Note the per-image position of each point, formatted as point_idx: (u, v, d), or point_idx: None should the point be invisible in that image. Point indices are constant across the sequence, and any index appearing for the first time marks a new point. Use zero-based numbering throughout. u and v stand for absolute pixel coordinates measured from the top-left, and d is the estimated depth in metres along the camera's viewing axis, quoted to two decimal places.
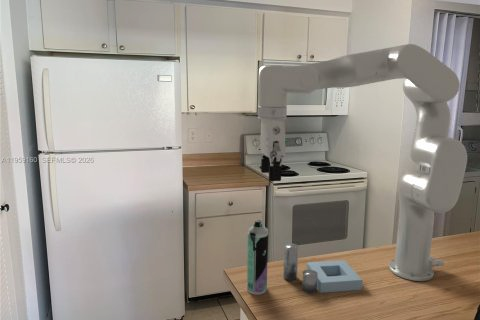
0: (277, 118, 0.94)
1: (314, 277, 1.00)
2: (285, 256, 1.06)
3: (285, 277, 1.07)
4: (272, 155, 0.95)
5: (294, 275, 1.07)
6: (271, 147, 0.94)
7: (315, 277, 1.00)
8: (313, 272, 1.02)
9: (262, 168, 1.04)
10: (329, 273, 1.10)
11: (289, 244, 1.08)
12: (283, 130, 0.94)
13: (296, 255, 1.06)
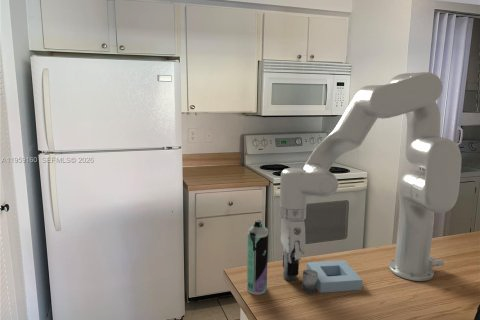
0: (298, 219, 1.01)
1: (314, 277, 1.00)
2: (285, 256, 1.06)
3: (285, 277, 1.07)
4: (291, 254, 1.04)
5: None
6: (292, 246, 1.01)
7: (315, 277, 1.00)
8: (313, 272, 1.02)
9: None
10: (329, 273, 1.10)
11: None
12: (303, 230, 1.01)
13: None
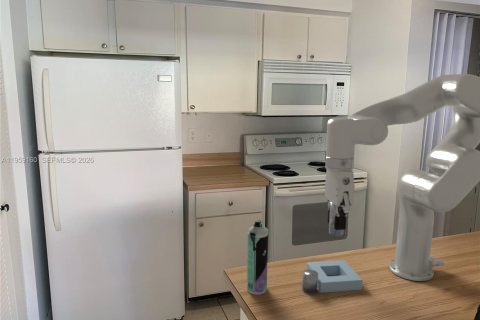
0: (346, 169, 0.97)
1: (314, 277, 0.99)
2: (331, 210, 1.02)
3: (331, 232, 1.03)
4: (339, 206, 1.00)
5: None
6: (341, 197, 0.97)
7: (315, 277, 1.00)
8: (314, 272, 1.02)
9: None
10: (329, 273, 1.10)
11: None
12: (352, 181, 0.97)
13: None
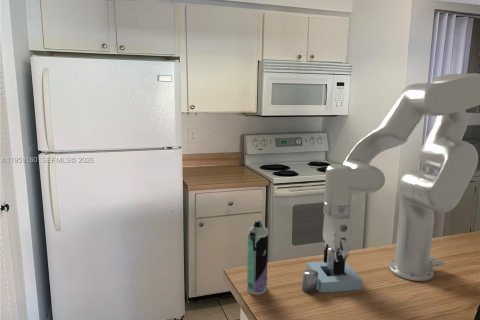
0: (344, 216, 1.00)
1: (313, 276, 1.00)
2: (329, 258, 1.05)
3: None
4: (337, 251, 1.01)
5: None
6: (338, 243, 1.00)
7: (314, 277, 1.00)
8: (314, 272, 1.02)
9: (325, 259, 1.09)
10: None
11: None
12: (350, 227, 1.00)
13: None
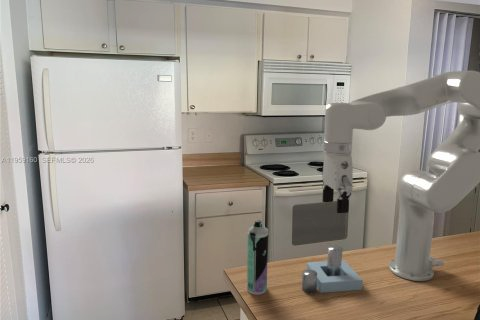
0: (345, 153, 0.98)
1: (311, 278, 0.99)
2: (329, 258, 1.05)
3: None
4: (340, 188, 0.99)
5: None
6: (340, 181, 0.98)
7: (312, 278, 0.99)
8: (313, 272, 1.01)
9: (324, 198, 1.09)
10: None
11: (333, 246, 1.07)
12: (351, 165, 0.98)
13: (340, 257, 1.05)
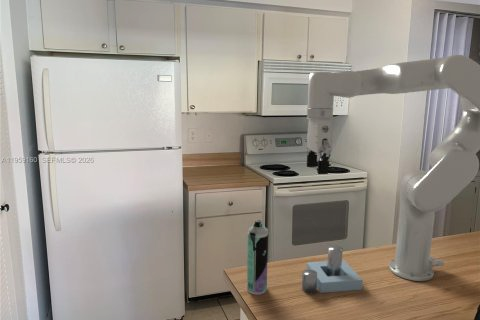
0: (326, 118, 1.06)
1: (310, 278, 0.99)
2: (329, 258, 1.05)
3: None
4: (321, 151, 1.07)
5: None
6: (320, 144, 1.06)
7: (311, 278, 0.99)
8: (313, 273, 1.01)
9: (308, 163, 1.17)
10: None
11: (333, 246, 1.07)
12: (331, 129, 1.06)
13: (341, 257, 1.04)
